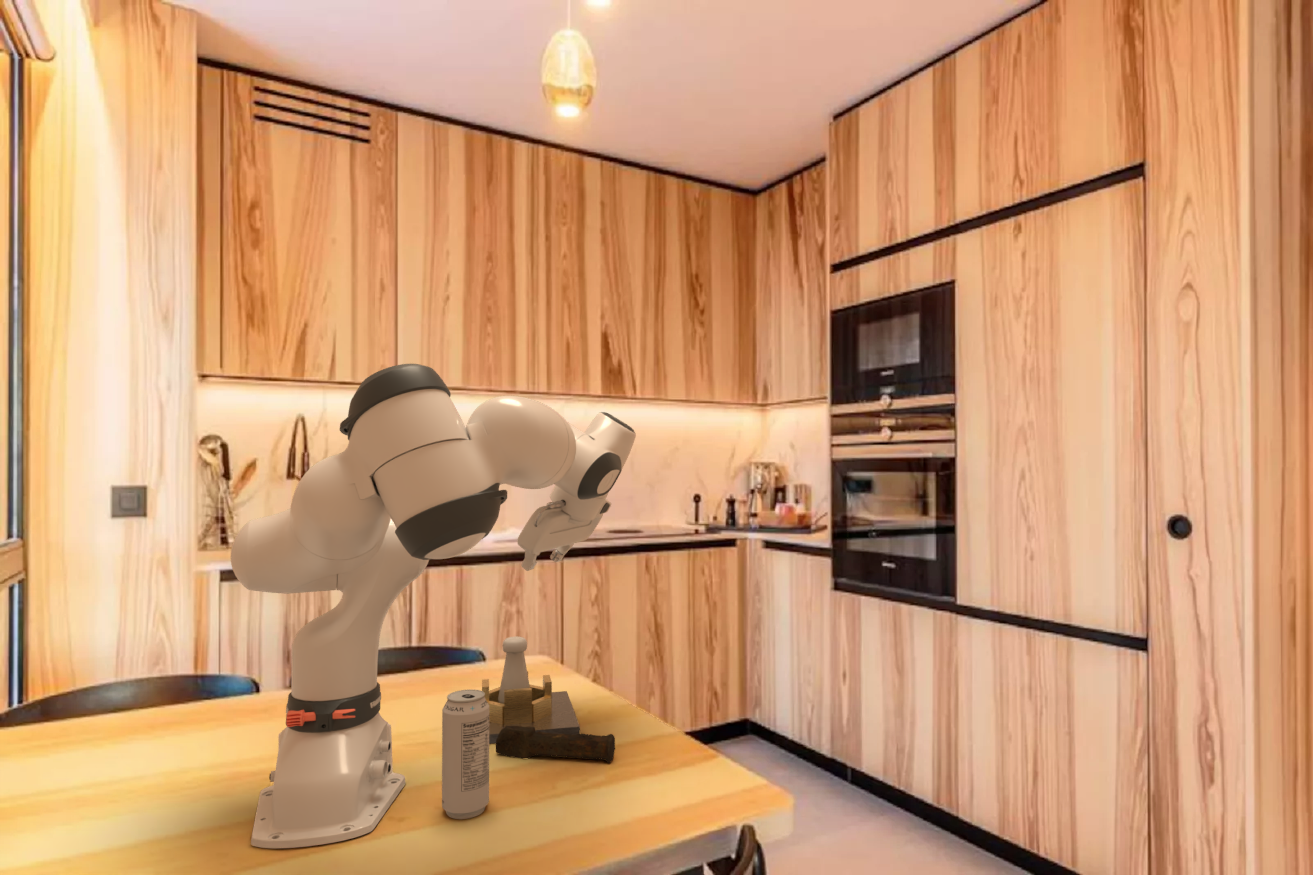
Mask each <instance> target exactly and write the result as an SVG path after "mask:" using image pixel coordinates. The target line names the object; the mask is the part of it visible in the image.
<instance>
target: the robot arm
mask: <svg viewBox="0 0 1313 875" xmlns="http://www.w3.org/2000/svg"><path fill="white" fill-rule="evenodd" d="M451 395H452V394H451V391H450V389H449V388H448V386H447V384H446V382H444V380H443V379H442V377H441V376H440V375H439V373H437V371H436V370H435V369H433V367H430V366H427V365H423V364H418V363H402V364H398V365H397V364H396V365H392V366H389V367H386V368H383V369H381V370H378V371H376V372H373V374H371V375H368V377H366V378H365V379H364V380H363V381H362V382H361V383H360V385H358V388H357V389H356V391H355V393H354V394H353V396H352V398H351V400H350V402H349V407H348V413H347V417H346V418H344V420H342V421H341V422H340V424H339V431H340V433H341V434H343V435H345V436H347V440H348V444H347V447H346V448H345V450H343V451H342V452H340V453H338V454H333V455H331V456H327V457H325V458H323V459H321V460H319V461H317V462H316V463H315V464H313V465H312V466H311V467H310V468H309V469H308V470H306V472H305V473H304V475H302V477H301V479H300V480H299V481H298V483H297V486H296V488H295V490H294V493H293V495H292V499H291V503H290V508H289V509H285V510H283V511H280V512H278V513H275V514H271V515H267V516H263V517H259V518H253V519H251V520H249V521H247V522H246V523H245V524H244V525H243V526H242V527H241V528H240V530H239V531H238V533H237V534H236V536H235V537H234V539H233V543H232V545H231V550H230V565H231V568H232V571H233V574H234V576H235V578H236V579H237V580H238V581H239V583H240V584H241V585H242V586H243V587H244V588H246V590H248V591H253V592H254V591H255V592H262V593H263V592H264V593H271V594H286V595H287V594H289V595H290V594H300V593H302V594H303V593H315V592H328V591H330V592H331V591H340V592H341V593H342V596H341V599H340V601H339V602H338V604H336V605H335V606H334V607H333V608H332V609H330V610H329V611H327V612H325V613H323V614H321V615H319V616H317V617H316V618H313V619H312V620H310V621H309V622H307V623H306V624H305V625H303V626H302V627H300V629H299V630H298V631H297V633H296V634H295V636H294V637H293V640H292V643H291V684H290V685H291V688H290V689H291V690H290V693H289V694H288V695H287V703H286V706H285V708H286V709H285V713H286V715H285V716H286V718H285V725H286V727H285V728H284V729H283V730H281V732H279V733H278V751H277V752H278V753H277V757H276V765H275V769H274V770H271V771H270V773H269V776H268V777H269V781H270V782H271V783H273V785H269V786H267V787H264V788H263V789H261V790H260V792H259V797H258V803H257V808H256V810H255V812H256V813H255V817H254V822H253V828H252V833H251V840H250V845H252V847H257V848H263V849H292V848H304V847H312V846H318V845H319V846H320V845H327V844H333V843H337V842H343V841H347V840H350V839H354V838H357V837H361V836H364V835H366V834H369V833H371V832H372V831H373V830H374V829H375V828H376V826H377V825H378V824H379V822H380V821H381V819H382V818H383V816H384V815H385V814H386V812H387V811H388V810H389V808H390V807H391V805H392V804H393V802H394V800H396V798H397V797H398V795H399V794H400V792H401V791H402V790H403V789H404V786H405V785H406V776H405V775H404V774H402V773H398V772H394V771H393V770H394V769H393V767H394V766H393V741H392V740H393V739H392V725H391V724H390V723H389V722H388V721H386V720H385V719H384V718H383V716H382V715H381V714H380V710H381V700H382V692H381V684H380V683H379V682H378V662H379V660H378V659H379V646H380V638H381V631H382V627H383V624H384V621H385V618H386V616H387V613H388V611H389V610H390V608H391V606H392V605H393V603H395V602H394V601H395V600H396V599H397V598H398V596H399V595H401V593H402V592H403V591H404V589H406V588H407V587H408V586H409V585H410V584H411V583H413V582H414V581H415V580H416V579H418V578H419V577H420V576H421V575H422V574H423V572H424V571H425V569H426V568H427V566H428V565H429V561H430V560H443V559H444V560H445V559H450V558H454V557H457V556H460V555H462V554H465V553H466V552H468V551H469V550H471V549H473V548H474V547H475V546H477V545H478V543H480V542H481V541H482V540H483V539H484V538H486V537H487V536H488V535H489V534H490V532H491V531H492V530H493V528H494V526H495V524H496V522H497V521H498V518H499V514H500V510H501V505H503V504H504V503H505V502H506V500H507V499H508V490H507V489H500V485H505V484H506V485H508V486H512V487H515V488H520V489H524V490H525V489H526V490H527V489H528V490H539V489H545V488H547V487H551V486H553V485H554V487H553V489H552V490H551V492H550V494H549V498H550V501H549V502H547V503H546V504H545V505H542V506H539V507H538V508H536V509H535V511H534V512H533V513H532V514H531V516H530V517H529V518H528V521H527V522H526V523H525V525H524V526H523V528H522V530H521V532H520V533H519V535H518V536H517V545H518V546H519V547H520V548H521V549H522V550H524V551H525V552H524V559H523V561H522V563H521V566H520V567H521V568H523V570H525V571H527V572H528V571H532V570H533V569H535V567H536V565H537V563H538V561H537V557H538V556H540V554H541V553H543V552H547V551H550V550H552V553H551V554H550V555H549V556H550V557H549V558H550V559H551V561H553V562H554V563H559V562H561V561H562V560H563V558H564V557H565V555H566V554H567V553H568V551H570V550H571V549H572V548H573V546H574V544H577V543H580V542H585V541H587V539H588V538H590V536H591V535H592V534H593V533H594V531H595V530H596V528H597V527H598V525H599V523H600V522H601V520H602V518H603V517H604V514H605V513H608V511H609V510H610V508H611V507H612V502H610V501H609V500H608V499H607V497H608V496H609V492H610V491H611V489H612V488H613V487H614V485H615V484H616V482H617V480H618V478H619V476H621V475H620V474H621V473H622V471H623V468H624V466H625V464H626V462H627V460H628V458H629V455H630V454H631V451H632V448H633V446H634V443H635V441H636V436H637V435H636V431H635V430H634V429H633V428H632V426H630V425H628V424H627V423H625V422H624V421H622V420H620V419H619V418H618V417H615V416H614V415H612V414H610V413H608V412H605V411H601V412H598V413H597V414H596V416H595V417H594V418H593V419H592V421H591V422H590V424H589V425H588V427H587V428H586V429H585V431H583V430H581V429H580V428H578V427H576V426H575V425H573V424H571V423H570V422H569V421H567V420H566V419H565V417H563V416H562V415H561V414H560V413H559V412H558V411H556V410H555V409H554V408H552V407H550V405H549V406H548V405H547V404H545V403H544V402H541V401H538V400H536V399H532V398H529V397H525V396H518V395H502V396H501V395H500V396H495V397H492V398H490V399H488V400H485V401H484V402H482V403H481V404H479V405H478V406H477V407H476V409H474V411H473V412H472V413H471V415H470V417H469V418H468V421H467V424H466V425H465V424H464V422H463V419H462V417H461V416H460V413H459V412H458V409H457V407H456V406H455V404H454V402H453V401H452V399H451Z"/></svg>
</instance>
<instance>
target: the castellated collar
mask: <svg viewBox="0 0 1313 875" xmlns="http://www.w3.org/2000/svg"><path fill="white" fill-rule="evenodd" d="M527 674H528V675H529V671H528V670H527ZM552 682H553V681H552V678H551V676H550V674H545V675H544V674H543V675H542V686H539V685H534V684H530V683H529V686H530V688H521V689H508V690H504V704H502V703H499V702H498V696H499V691H500V686H498V687H496V688H494V689H493V688H492V689H491V690H490V679H489V678H487V679H485V678H484V679H482V680H481V691H483V692H484V693H485V696H484V697H485V699H486V701H487V702H488V704H489V745H491V744H495V743H496V739H497V737H498V735H499V733H500V731H501V730H502V729H503V728H505V726H522V727H535V731H536V732H545V733H555V734H581V726H580V723H579V720H578V718H577V715H576V713H575V709H574V707H573V704H572V701H571V699H570V696H569V693H568V691H567V690H565V691H563V690H562V691H552V690H553V687H552V686H553V685H552V684H553V683H552Z"/></svg>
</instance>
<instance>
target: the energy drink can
mask: <svg viewBox="0 0 1313 875" xmlns="http://www.w3.org/2000/svg"><path fill="white" fill-rule="evenodd" d="M484 696H485V693H484V692H483V691H482V690H480V689H461V690H457V691H456V690H455V691H453V692H450V693H449V694H448V695H447V696H446V701H445V704H444V706H443V707H442V712H441V714H442V718H441V722H442V723H441V725H442V728H441V729H442V731H441V733H442V734H441V735H442V736H441V738H442V739H441V743H442V744H441V746H442V747H441V752H442V753H441V757H442V758H441V807H442V810H444V811H445V813H446V815H447V816H448V817H449V818H452V819H455V820H465V819H466V820H467V819H472V818H474V817H477V816H480V815H481V814H483V813H484V811H485V809H486V806H487V805H488V804H489V802H490V744H489V704H488V702H487V701H486V699H485V697H484Z"/></svg>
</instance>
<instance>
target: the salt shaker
mask: <svg viewBox="0 0 1313 875" xmlns="http://www.w3.org/2000/svg"><path fill="white" fill-rule="evenodd" d="M527 648H528V641H527V639H526V638H525V637H522V636H517V635H516V636H509V637H506V638H505V639H503V641H502V651H503V652H504V653H506V654H505V658H504V664H503V665H504V667H503V672H502V675H501V682H500V686H499V687H500V691H499V696H498V702H499V703H502V704H504V690H508V689H521V688H530V686H529V684H530V681H529V673H528V674H527V671H528V669H527V663H526V657H525V652H526V651H527Z"/></svg>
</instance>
